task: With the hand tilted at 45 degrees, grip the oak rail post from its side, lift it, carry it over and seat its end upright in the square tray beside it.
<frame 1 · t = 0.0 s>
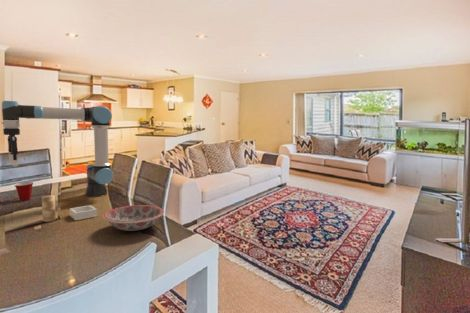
hand: (13, 164, 168), 28 cm above the table, tool pointing down, fingers open, 13 cm apart
square tray: (83, 215, 165), on the table
plastic cup: (24, 200, 195), on the table
ceramic bowl: (134, 228, 147), on the table
oak rail post: (49, 219, 157), on the table
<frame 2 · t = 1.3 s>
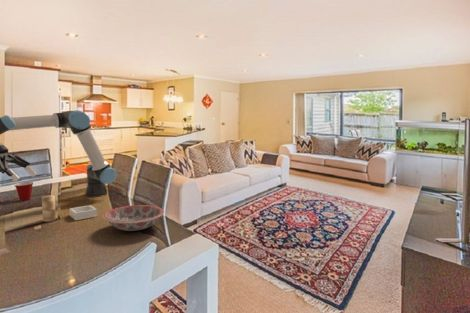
hand: (26, 177, 154), 23 cm above the table, tool tilted 45°, fingers open, 13 cm apart
nothing on the table moved.
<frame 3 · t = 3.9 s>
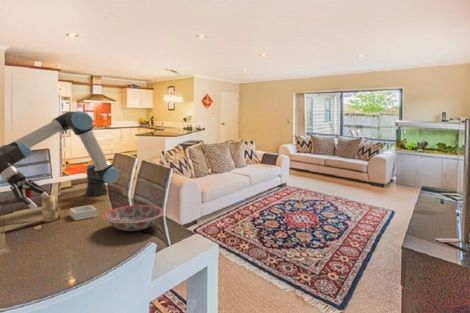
hand: (43, 204, 155), 9 cm above the table, tool tilted 45°, fingers open, 13 cm apart
nothing on the table moved.
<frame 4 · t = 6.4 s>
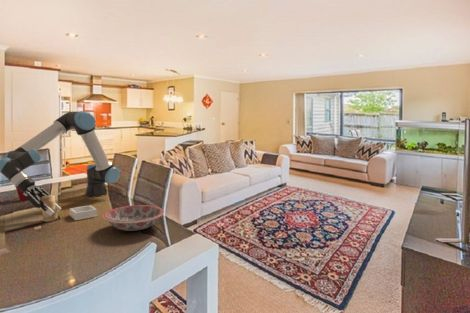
hand: (55, 212, 156), 4 cm above the table, tool tilted 45°, fingers closed on oak rail post, 6 cm apart
oak rail post: (49, 219, 157), on the table, touching gripper
everything else where it was.
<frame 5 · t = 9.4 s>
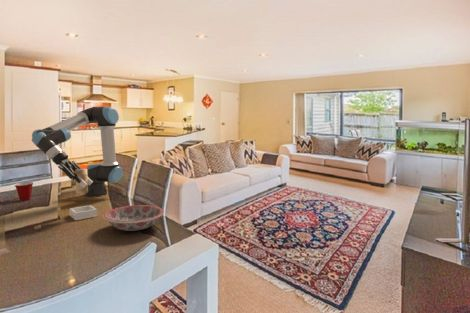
hand: (88, 184, 163), 18 cm above the table, tool tilted 45°, fingers closed on oak rail post, 6 cm apart
oak rail post: (82, 192, 163), point 14 cm above the table, touching gripper
everything else where it was.
when the fingers open (6 cm above the table, at t = 12.4 s): oak rail post stays where it is, resting on square tray.
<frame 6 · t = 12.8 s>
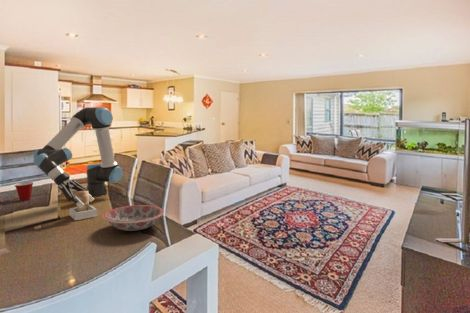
hand: (87, 203, 164), 7 cm above the table, tool tilted 45°, fingers open, 11 cm apart
oak rail post: (83, 214, 164), point 1 cm above the table, touching square tray
everything else where it was.
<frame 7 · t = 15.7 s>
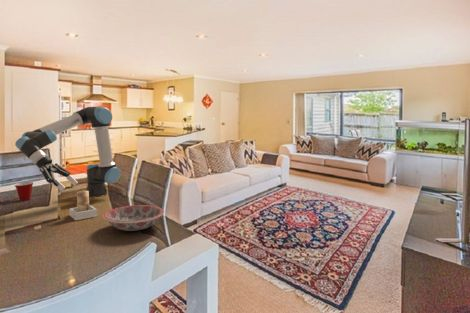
hand: (70, 186, 162), 17 cm above the table, tool tilted 45°, fingers open, 13 cm apart
nothing on the table moved.
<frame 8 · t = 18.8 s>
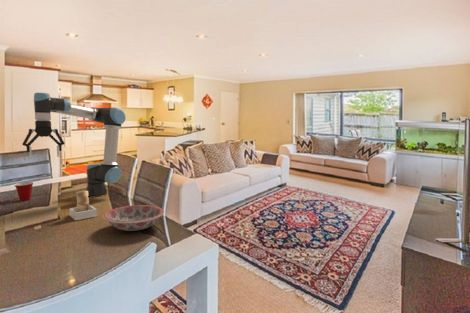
hand: (44, 157, 166), 33 cm above the table, tool pointing down, fingers open, 13 cm apart
nothing on the table moved.
at the end: oak rail post 0.0 cm off-centre on the square tray, point 1.0 cm above the square tray's base; oak rail post tilted 1°; the gripper is holding nothing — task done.
